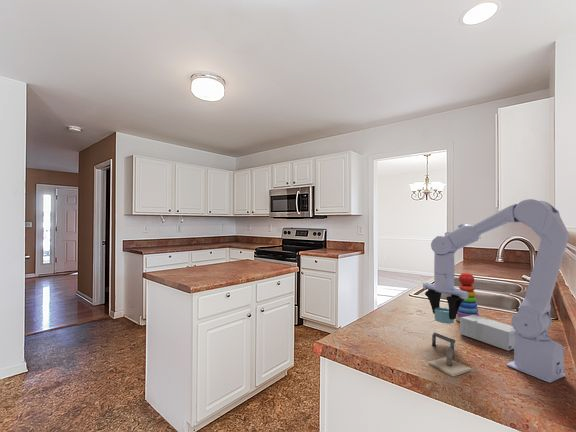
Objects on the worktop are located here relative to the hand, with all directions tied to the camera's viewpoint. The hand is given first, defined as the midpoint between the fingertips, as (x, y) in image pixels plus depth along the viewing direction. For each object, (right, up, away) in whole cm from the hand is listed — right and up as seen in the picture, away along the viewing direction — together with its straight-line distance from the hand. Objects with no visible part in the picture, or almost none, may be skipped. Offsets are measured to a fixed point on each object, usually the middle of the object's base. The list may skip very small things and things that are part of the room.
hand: (444, 316), depth 95 cm
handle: (-5, -8, -9) cm, 13 cm away
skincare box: (+11, -5, +7) cm, 14 cm away
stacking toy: (+19, -9, +18) cm, 27 cm away
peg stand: (-8, -8, -17) cm, 20 cm away
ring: (0, -1, 0) cm, 1 cm away
